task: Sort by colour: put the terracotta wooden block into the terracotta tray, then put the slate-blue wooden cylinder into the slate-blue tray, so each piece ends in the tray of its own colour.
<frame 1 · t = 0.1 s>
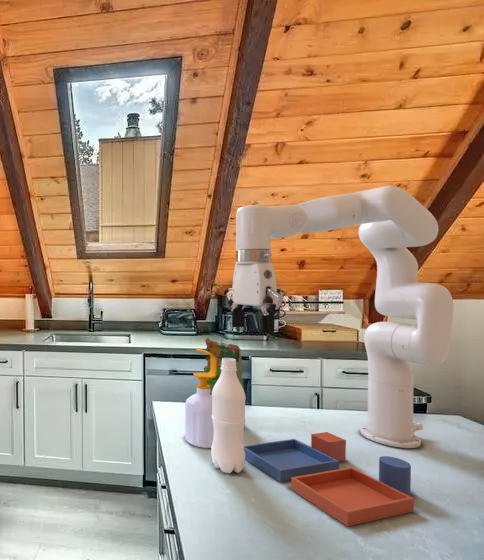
hand: (252, 329, 92), 31 cm above the countertop, tool pointing down, fingers open, 9 cm apart
blue cylinder: (394, 490, 79), on the countertop
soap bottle: (202, 441, 102), on the countertop
terracotta tray: (349, 499, 76), on the countertop
blue tray: (288, 463, 90), on the countertop
block: (328, 457, 93), on the countertop
pouch: (222, 424, 114), on the countertop
water bottle: (227, 469, 88), on the countertop
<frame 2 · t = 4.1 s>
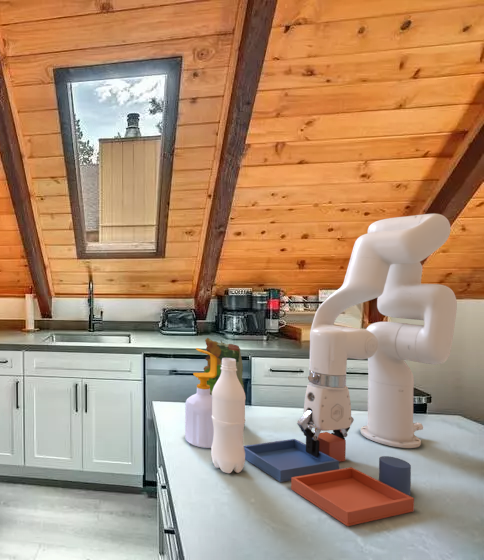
hand: (324, 452, 93), 1 cm above the countertop, tool pointing down, fingers open, 7 cm apart
block: (327, 457, 93), on the countertop, touching gripper
everything else where it was.
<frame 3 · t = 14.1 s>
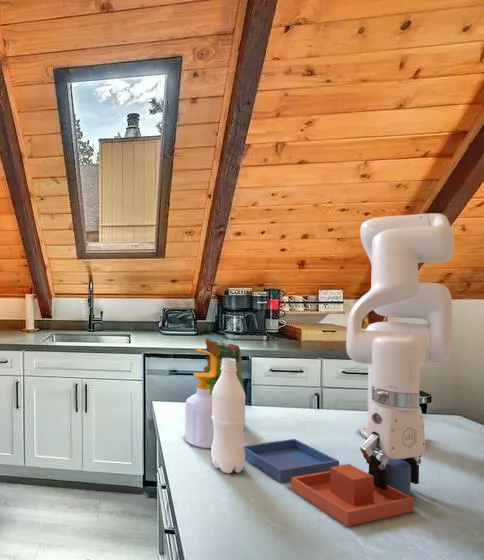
hand: (393, 483, 79), 2 cm above the countertop, tool pointing down, fingers open, 8 cm apart
block: (351, 496, 76), resting on terracotta tray
everything else where it was.
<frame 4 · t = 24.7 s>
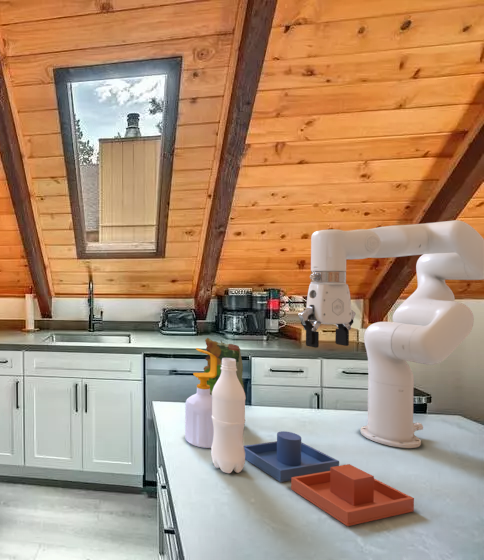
hand: (327, 345, 98), 26 cm above the countertop, tool pointing down, fingers open, 9 cm apart
blue cylinder: (288, 460, 90), resting on blue tray
everything else where it was.
at the end: block inside the target area in the terracotta tray (0.6 cm from its centre), point 0.5 cm above the terracotta tray's base; blue cylinder inside the target area in the blue tray (0.6 cm from its centre), point 0.5 cm above the blue tray's base; blue cylinder tilted 0° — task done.
